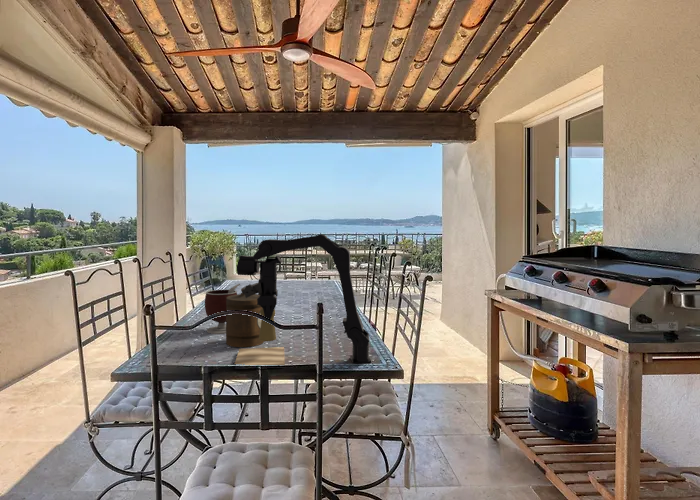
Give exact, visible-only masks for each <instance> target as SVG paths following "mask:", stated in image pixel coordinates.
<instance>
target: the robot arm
mask: <svg viewBox="0 0 700 500" xmlns="http://www.w3.org/2000/svg"><path fill="white" fill-rule="evenodd" d="M315 247H320V248H321V249H323V250H324V251H325V252H326V253H327V254H329V255H331V257H332V260H333V263H334V266H335V268H336V270H337V272H338V276H339V281H340V285H341V291H342V296H343V302H344V309H345V314H346V315H345V316H346V317H343V320H342V325H343V327H344V332H343V333H344V334H346V337H347V338H348V339H349V340H351V343H352V345H351V347H352V349H351V351H352V353H351V354H352V355H350V356H349V359H350V361H351V362H352V364H364V363H365V364H368V363H372V359H371V358H370V333H369V332H368V331H367V330H366V329H365V327H364V324H363V321H362V320H361V317H360V314H359V312H358V309H357V303H356V298H355V292H354V287H353V282H352V276H351V275H352V274H351V251H350V249H349V248H347V246H343V245H342V246H341V245H339V244H337V243H336V242H335V241H333V240H332V239H330V238H329V237H328V236H327V235H326V234H323V233H321V234H317V235H312V236H306V237H299V238H298V237H297V238H293V239H275V238H274V239H272V238H270V239H264V240H262V241H261V242H260V243H259V244H258V249H257V251H256V252H255V253H254V255H239V256H238V261H237V265H236V273H237V275H238V276H256V275H257V273H259V279H258V282H255V283H252V284H250V283H249V284H247V285H245V286H243V287H244V288H243V287H242V288H243V289H242V288H241V289H242V290H243V294H244V295H245V298H247V297H249V296H251V295H254V294H258V295H260V296H259V297H258V298H257V305H260V306H261V307H262V308H263V311H264V316H265V317H267V318H269V319H271V316H272V314H273V311H274V309H275V310H276V306H277V302H278V291H279V290H278V288H277V284H278V283H277V281H278V280H277V279H278V277H277V275H278V274H277V273H278V272H277V271H278V270H277V269H278V266H277V265H278V264H282V263H283V262H284V261H283V260H282V259H281V258H280V257H279V255H278V254H281V253H284V252H287V251H292V250H293V251H294V250H301V249H306V248H307V249H308V248H315ZM275 255H276V256H275ZM272 256H275V257H272ZM266 257H267V258H266ZM264 258H265V259H264ZM262 259H264V260H262Z"/></svg>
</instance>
